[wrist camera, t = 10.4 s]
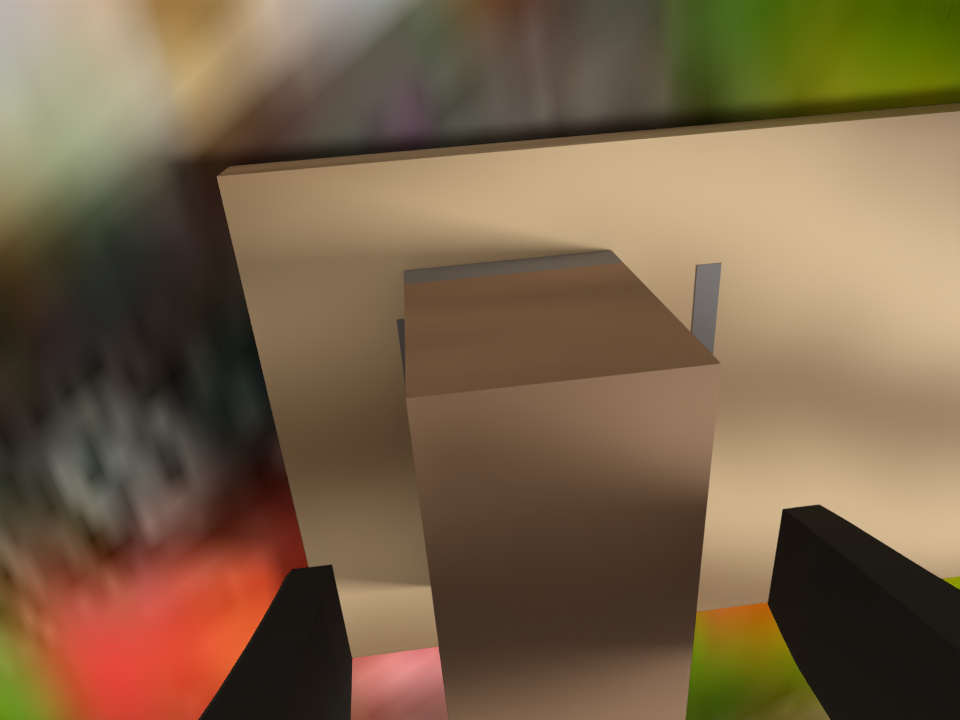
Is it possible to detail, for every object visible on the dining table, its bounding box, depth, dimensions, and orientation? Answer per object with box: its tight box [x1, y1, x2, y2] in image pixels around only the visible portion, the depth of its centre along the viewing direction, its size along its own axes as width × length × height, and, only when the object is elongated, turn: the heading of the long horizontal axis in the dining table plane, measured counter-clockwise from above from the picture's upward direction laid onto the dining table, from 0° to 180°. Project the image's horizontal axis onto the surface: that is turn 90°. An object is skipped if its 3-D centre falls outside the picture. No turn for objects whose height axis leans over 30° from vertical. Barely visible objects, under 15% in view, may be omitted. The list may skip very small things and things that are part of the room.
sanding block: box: [404, 250, 721, 720], centre depth 12 cm, size 8×4×5 cm, turn 4°
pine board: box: [217, 103, 960, 658], centre depth 15 cm, size 12×20×1 cm, turn 94°
